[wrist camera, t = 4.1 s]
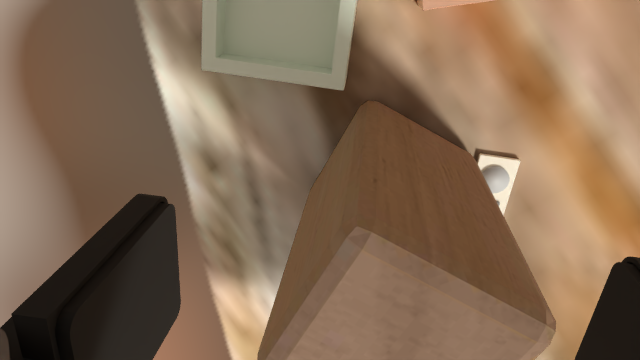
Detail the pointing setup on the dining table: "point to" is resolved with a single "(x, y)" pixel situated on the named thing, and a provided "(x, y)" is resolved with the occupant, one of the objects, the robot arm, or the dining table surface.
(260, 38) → the tray
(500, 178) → the cream switch plate
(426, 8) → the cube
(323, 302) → the wooden block
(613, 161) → the dining table surface
